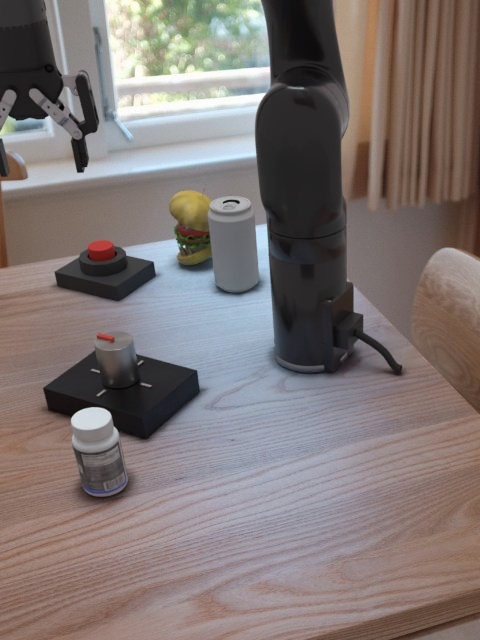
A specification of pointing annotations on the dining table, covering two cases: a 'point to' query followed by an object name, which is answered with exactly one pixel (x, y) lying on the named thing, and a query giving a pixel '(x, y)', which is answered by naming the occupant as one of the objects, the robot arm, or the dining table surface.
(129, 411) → the panel
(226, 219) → the beverage can
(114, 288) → the button block
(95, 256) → the button
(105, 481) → the pill bottle
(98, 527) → the dining table surface
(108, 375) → the knob
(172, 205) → the hamburger
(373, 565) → the dining table surface
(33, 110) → the robot arm
